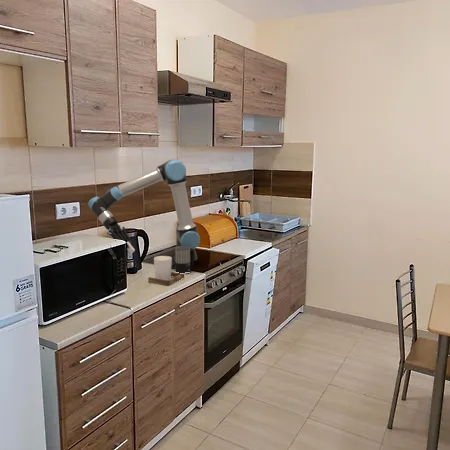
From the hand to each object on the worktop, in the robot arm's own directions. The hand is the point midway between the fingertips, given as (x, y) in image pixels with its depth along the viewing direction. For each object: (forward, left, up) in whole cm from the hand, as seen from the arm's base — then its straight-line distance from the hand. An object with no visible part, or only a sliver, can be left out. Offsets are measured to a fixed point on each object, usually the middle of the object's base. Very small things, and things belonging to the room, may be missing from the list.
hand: (133, 251), depth 240 cm
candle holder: (-1, +20, -13) cm, 24 cm away
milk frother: (-20, +17, -14) cm, 30 cm away
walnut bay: (0, +21, -13) cm, 25 cm away
